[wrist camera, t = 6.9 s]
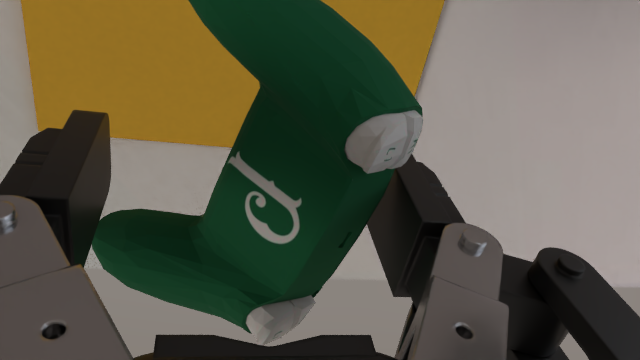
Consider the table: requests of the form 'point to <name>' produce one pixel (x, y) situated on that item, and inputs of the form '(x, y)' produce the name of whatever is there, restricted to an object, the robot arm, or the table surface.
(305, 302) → the gaming controller
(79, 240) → the robot arm
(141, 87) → the cloth
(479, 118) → the table surface
